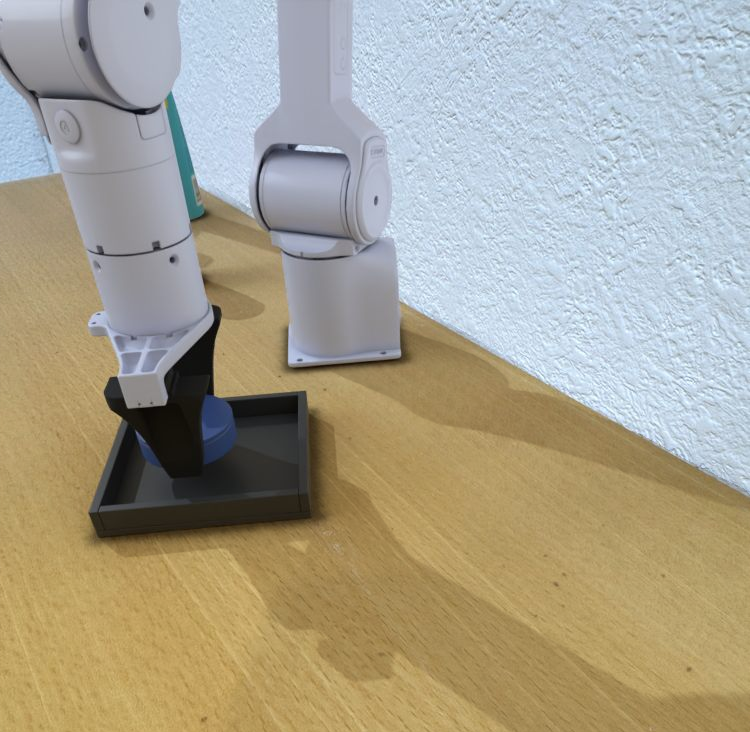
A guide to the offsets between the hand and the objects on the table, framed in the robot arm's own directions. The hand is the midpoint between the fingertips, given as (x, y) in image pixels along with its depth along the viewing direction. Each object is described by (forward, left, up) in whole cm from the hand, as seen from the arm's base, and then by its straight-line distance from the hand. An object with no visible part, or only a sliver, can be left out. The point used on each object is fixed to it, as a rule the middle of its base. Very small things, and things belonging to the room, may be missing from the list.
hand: (192, 443), depth 46 cm
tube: (+8, -57, -2) cm, 58 cm away
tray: (-1, 0, -2) cm, 2 cm away
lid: (0, 0, +2) cm, 2 cm away
